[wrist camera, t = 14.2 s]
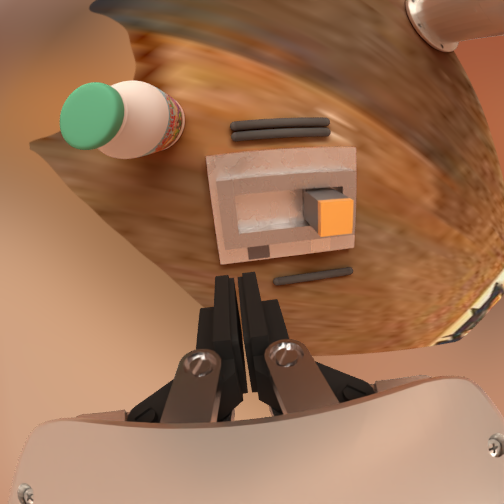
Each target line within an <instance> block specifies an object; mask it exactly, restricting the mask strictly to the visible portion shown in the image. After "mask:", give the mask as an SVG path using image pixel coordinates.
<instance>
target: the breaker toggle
mask: <svg viewBox="0 0 504 504" xmlns="http://www.w3.org/2000/svg"><path fill="white" fill-rule="evenodd" d="M303 199H304V219H305V220H306V221H307V222H308V223H309V224H310V225H311V227H312V228H313V229H314V230H315V231H316V232H317V233H318V234H319V236H320V237H325V236H333V235H342V234H351V233H352V229H353V200H352V199H350V198H349V197H347V196H345V195H344V194H342V193H340V192H338V191H336V190H335V189H333V188H318V189H304V190H303Z"/></svg>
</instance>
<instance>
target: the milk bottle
mask: <svg viewBox="0 0 504 504" xmlns="http://www.w3.org/2000/svg"><path fill="white" fill-rule="evenodd" d="M184 125H185V117H184V112H183V110H182V108H181V106H180V105H179V103H178V102H177V101H176V100H174V99H173V98H172V97H170V96H169V95H167V94H166V93H164V92H163V91H161V90H159V89H158V88H156V87H154V86H152V85H150V84H148V83H145V82H140V81H124V82H120V83H117V84H114V85H112V86H109V85H106V84H103V83H96V82H94V83H88V84H85V85H82V86H80V87H79V88H77V89H76V90H75V91H73V92H72V94H70V96H69V97H68V98H67V100H66V101H65V103H64V105H63V108H62V111H61V115H60V130H61V133H62V136H63V138H64V139H65V141H66V142H67V143H68V144H69V145H71V146H72V147H74V148H76V149H80V150H91V149H96V148H97V149H99V150H100V151H101V152H103V153H104V154H106V155H108V156H111V157H114V158H119V159H130V158H137V157H141V156H145V155H149V154H152V153H156V152H159V151H162V150H165V149H167V148H169V147H170V146H172V145H173V144H174V143H175V142H176V141H177V140H178V139H179V138H180V136H181V134H182V132H183V129H184Z"/></svg>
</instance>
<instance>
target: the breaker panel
mask: <svg viewBox="0 0 504 504" xmlns="http://www.w3.org/2000/svg"><path fill="white" fill-rule="evenodd" d="M206 163H207V171H208V179H209V187H210V194H211V202H212V209H213V216H214V223H215V230H216V237H217V244H218V251H219V257H220V264H230V263H238V262H246V261H254V260H262V259H270V258H278V257H286V256H294V255H302V254H309V253H317V252H325V251H333V250H340V249H348V248H354V237H355V219H356V147H301V148H282V149H267V150H255V151H245V152H235V153H226V154H218V155H210V156H206ZM318 188H333V189H335V190H336V191H338V192H340V193H342V194H344V195H345V196H347V197H349V198H350V199H352V200H353V229H352V233H351V234H342V235H333V236H325V237H320V236H319V234H318V233H317V232H316V231H315V230H314V229H313V228H312V227H311V225H310V224H309V223H308V222H307V221H306V220H305V219H304V199H303V190H304V189H318Z"/></svg>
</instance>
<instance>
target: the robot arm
mask: <svg viewBox="0 0 504 504" xmlns="http://www.w3.org/2000/svg"><path fill="white" fill-rule="evenodd" d="M406 11H407V14H408V17H409V19H410V21H411V23H412V25H413V27H414V28H415V29H416V31H417V32H418V34H419V35H420V36H421V37H422V38H423V39H424V40H425V41H426V42H427V43H428V44H429V45H430V46H432V47H433V48H435V49H437V50H439V51H442V52H451V51H454V50H455V49H456V48H457V46H458V42H459V41H464V40H470V39H477V38H484V37H492V36H502V35H504V0H406ZM242 275H243V277H238V287H239V297H240V308H241V318H242V328H243V337H244V344H245V351H246V357H247V363H248V369H249V376H250V382H251V388H252V392H258V396H259V400H260V401H262V402H264V403H266V404H268V405H269V408H270V412H271V415H272V417H265V418H257V419H250V420H240V421H234V417H235V410H234V408H235V407H236V406H238V405H239V403H241V402H242V401H243V393H248V390H247V381H246V371H245V361H244V351H243V341H242V331H241V324H240V317H239V311H238V304H237V297H236V290H235V283H234V278H229V276H228V275H224V276H216V277H215V294H214V307H209V308H201V309H200V314H199V323H198V334H197V345H196V350H194V351H191V352H189V353H187V354H186V355H185V356H184V357H183V358H182V359H181V361H180V362H179V365H178V368H177V371H176V374H175V377H174V379H173V380H172V381H170V382H169V383H168V384H166V385H165V386H163V387H162V388H161V389H159V390H158V391H156V392H155V393H154V394H152V395H151V396H149V397H148V398H147V399H145V400H144V401H142V402H141V403H139V404H138V405H137V406H135V407H134V408H133V409H132V410H131V411H130V412H126V411H125V410H120V411H111V412H103V413H92V414H82V415H79V416H77V417H76V418H60V419H55V420H50V421H47V422H44V423H41V424H39V425H38V426H36V427H35V428H34V429H33V430H32V432H31V433H30V435H29V436H28V438H27V440H26V442H25V445H24V446H23V449H22V451H21V454H20V457H19V459H18V463H17V466H16V470H15V473H14V476H13V480H12V485H11V490H10V495H9V501H8V504H504V418H503V416H502V414H501V413H500V412H499V410H498V408H497V407H496V405H495V404H494V403H493V401H492V400H491V399H490V397H489V396H488V395H487V394H486V393H485V392H484V390H483V389H482V388H481V387H480V386H479V385H478V384H476V383H475V382H473V381H472V380H470V379H468V378H465V377H460V376H439V377H433V378H432V377H429V376H426V375H419V376H413V377H406V378H399V379H390V380H381V381H376V382H375V384H368V383H367V382H365V381H363V380H361V379H358V378H355V377H353V376H350V375H348V374H345V373H343V372H340V371H338V370H335V369H333V368H330V367H328V366H325V365H323V364H320V363H318V362H316V361H314V359H313V357H312V356H311V354H310V352H309V351H308V349H307V347H306V346H305V345H304V344H303V343H301V342H299V341H296V340H293V339H289V336H288V333H287V329H286V326H285V323H284V319H283V316H282V313H281V309H280V306H279V303H278V300H277V299H275V300H267V301H261V298H260V293H259V288H258V284H257V279H256V274H255V272H249V273H242Z"/></svg>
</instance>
